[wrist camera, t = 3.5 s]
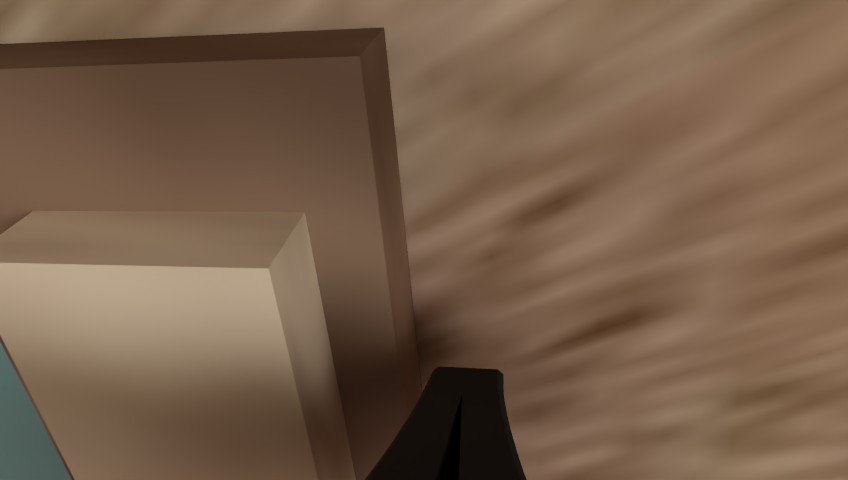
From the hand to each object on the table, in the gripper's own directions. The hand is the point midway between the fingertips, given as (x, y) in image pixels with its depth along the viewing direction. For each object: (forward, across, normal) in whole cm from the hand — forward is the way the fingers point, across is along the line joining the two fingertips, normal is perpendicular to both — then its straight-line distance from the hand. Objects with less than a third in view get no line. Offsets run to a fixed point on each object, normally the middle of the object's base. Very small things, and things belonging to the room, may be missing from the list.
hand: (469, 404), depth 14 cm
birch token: (+1, +6, 0) cm, 6 cm away
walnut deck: (+3, +7, 0) cm, 7 cm away
